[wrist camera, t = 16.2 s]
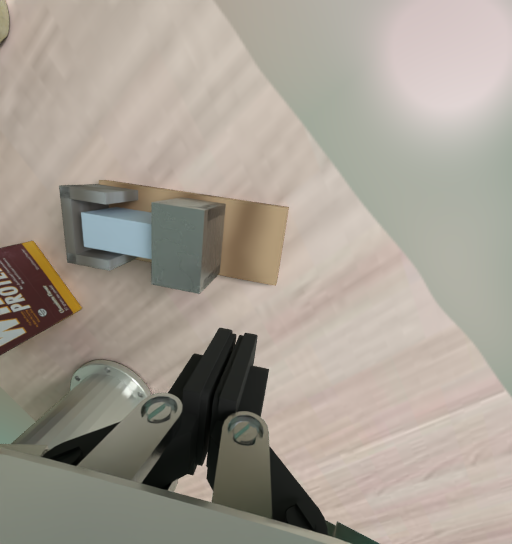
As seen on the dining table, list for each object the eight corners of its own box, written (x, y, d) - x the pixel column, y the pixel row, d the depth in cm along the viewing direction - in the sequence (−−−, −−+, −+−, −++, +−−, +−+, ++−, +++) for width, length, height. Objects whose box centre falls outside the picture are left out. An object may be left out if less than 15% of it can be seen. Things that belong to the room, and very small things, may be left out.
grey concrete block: (225, 203, 28) (204, 210, 22) (219, 272, 30) (199, 293, 25) (182, 197, 28) (151, 202, 23) (180, 265, 31) (151, 284, 25)
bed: (288, 207, 28) (282, 215, 22) (277, 281, 31) (268, 305, 25) (106, 180, 31) (58, 180, 25) (110, 250, 33) (67, 266, 28)
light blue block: (206, 221, 29) (185, 230, 24) (204, 251, 30) (183, 265, 25) (116, 206, 30) (81, 212, 25) (118, 236, 31) (84, 246, 27)
